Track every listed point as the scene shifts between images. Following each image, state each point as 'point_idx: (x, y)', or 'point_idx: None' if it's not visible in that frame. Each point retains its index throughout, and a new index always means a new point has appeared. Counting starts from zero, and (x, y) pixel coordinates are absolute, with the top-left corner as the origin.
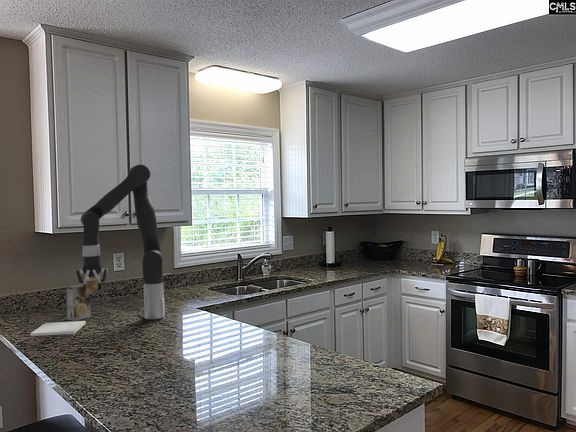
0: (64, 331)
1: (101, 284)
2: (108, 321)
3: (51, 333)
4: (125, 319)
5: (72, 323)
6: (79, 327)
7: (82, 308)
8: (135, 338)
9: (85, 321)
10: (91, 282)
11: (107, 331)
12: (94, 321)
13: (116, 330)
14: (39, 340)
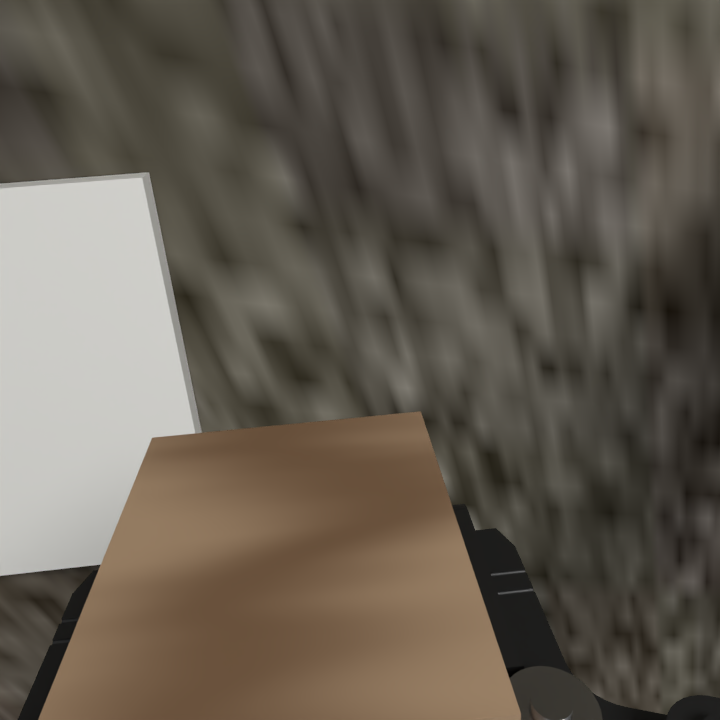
0: None
1: (542, 651)
2: (403, 106)
3: (30, 565)
4: (598, 25)
5: (38, 289)
6: (192, 406)
7: None
8: (703, 640)
9: (144, 185)
10: None
11: (485, 487)
12: (218, 77)
13: (555, 466)
14: (33, 662)
